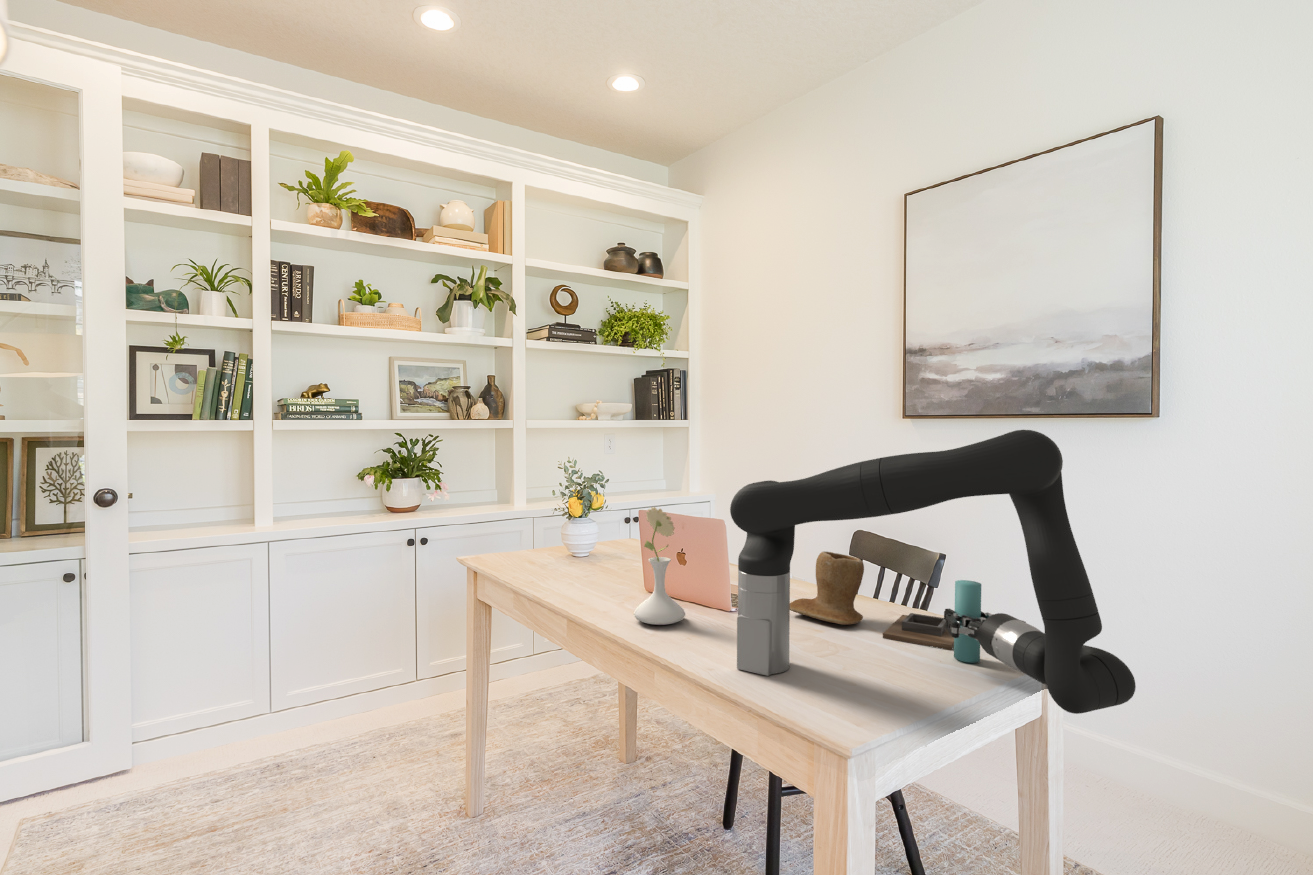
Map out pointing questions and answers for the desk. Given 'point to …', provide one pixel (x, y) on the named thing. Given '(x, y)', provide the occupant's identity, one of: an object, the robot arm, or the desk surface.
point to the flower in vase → (659, 579)
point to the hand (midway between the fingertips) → (959, 613)
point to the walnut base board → (920, 631)
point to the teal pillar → (970, 604)
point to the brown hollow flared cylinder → (834, 590)
